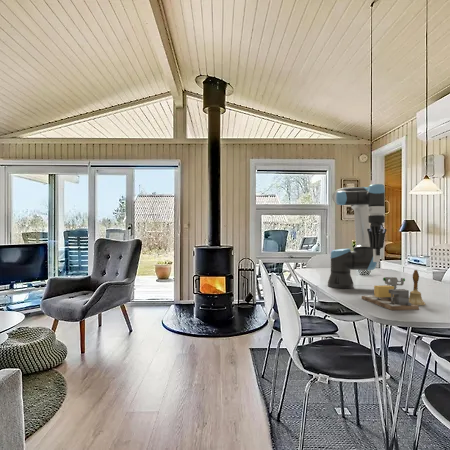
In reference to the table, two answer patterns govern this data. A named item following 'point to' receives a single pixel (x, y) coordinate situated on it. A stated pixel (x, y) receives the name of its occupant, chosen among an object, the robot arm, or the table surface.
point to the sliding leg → (382, 291)
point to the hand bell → (416, 291)
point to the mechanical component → (393, 281)
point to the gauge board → (393, 300)
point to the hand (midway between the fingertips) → (376, 261)
